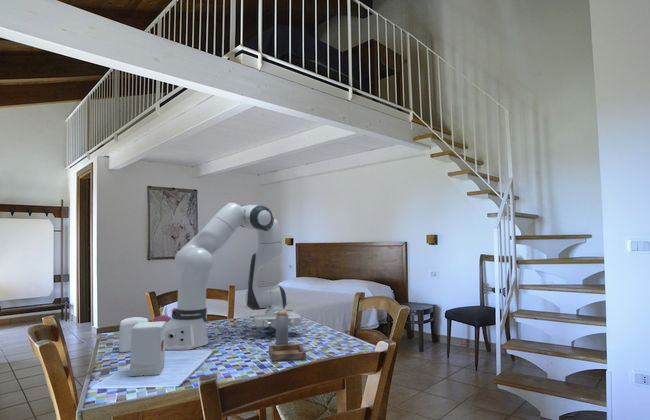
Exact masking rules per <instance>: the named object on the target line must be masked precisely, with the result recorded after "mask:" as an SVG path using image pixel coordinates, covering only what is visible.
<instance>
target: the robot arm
mask: <svg viewBox="0 0 650 420" xmlns="http://www.w3.org/2000/svg"><path fill="white" fill-rule="evenodd" d="M239 227H242V228H247V229H250V230H255V231H256V234H257V240H258V241H257V249H256V251H255V253H253V254H252V256H251V260H250V265H249V273H248V282H247V289H246V293H245V304H246V306H247V307H248V308H249V309H251V310H253V311H254V310H258V309H264V308H265V312H264V314H263V315H256V316H255V318H253V322H254V326H255V327H256V328H259V327H260V328H262V327H263V328H264V327H265V328H267V327H268V328H269V327H271V329H275V330H276V315H277V314H278V311H279V310H286V311H287V314H288V315H289V320H288V327H294V326H301V325H302V323H303V321H302V316H301V315H300V313H298V312H297V311H296V310H293V309H285V308H286V306H287V296H286V295H287V294H286V292H285V289H284V288H283V287H282V286H281V285H279V284H276V285H269V286H260V287H259V286H258V277H259V276H258V275H259V271H260V269H261V268H262V267H264V266H265V265H266V264H269V263H270V262H273V261H274V260H276V259H277V258H279V256H280V255H281V254H282V251H283V239H282V238H283V237H282V231H281V225H280V223H279V221H278V219H276V218H274V217H273V213H272V211H271V209H269V208H268V207H267V206H264V205H261V204H260V205H258V204H253V203H252V204H242V205H239V204H238V203H235V202H229V203H227V204H226V205H224V206H223V207H222V208H220V209H219V210H218V211H217V212H216V213H215V214H214V216H213V217H212V218H211V219H210V220H209V221H208V222H207V224H206V225H205V226H204V227H203V228H202V229H201V230H200V231H199V232H198V233H196V235H194V237H192V238H191V239H190V240H189V241H188V242H187V243H186V244H184V246H183V247H182V248H181V249H179V250H178V251H177V252H176V254H175V256H174V263H175V265H176V268H177V269H179V271H180V272H181V278H180V281H179V287H178V288H177V305H176V306H177V307H174V308H172V310H171V320H169V321H168V322H167V323H166V330H165V351H167V350H169V351H172V350H174V351H175V350H177V351H181V350H182V351H183V350H184V351H185V350H186V351H188V350H193V349H195V348H199V347H202V346H205V345H208V344H209V342H210V341H209V337H208V332H207V331H208V329H207V318H208V309H207V288H208V283H209V278H210V272H211V269H212V267H213V265H214V257H213V255H214V254H215V253H216V252H217V251H218V250H220V249H221V248H222V247H224V245H225V244H226V242H228V241H229V239H230V238H231V237H232V236H233V234H234V233H235V232H236V231H237V230H238V228H239Z"/></svg>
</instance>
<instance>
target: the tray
mask: <svg viewBox="0 0 650 420" xmlns="http://www.w3.org/2000/svg"><path fill="white" fill-rule="evenodd" d="M268 353H269V358H270V359H271V360H270V361H271V362H272V363H274V362H275V363H276V362H279V363H280V362H295V361H306V360H307V352H306V351H305V348H303V346H302V345H301V343H296V344H295V343H293V344H288V345H276V344H274V345H270V344H269V345H268Z"/></svg>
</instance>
